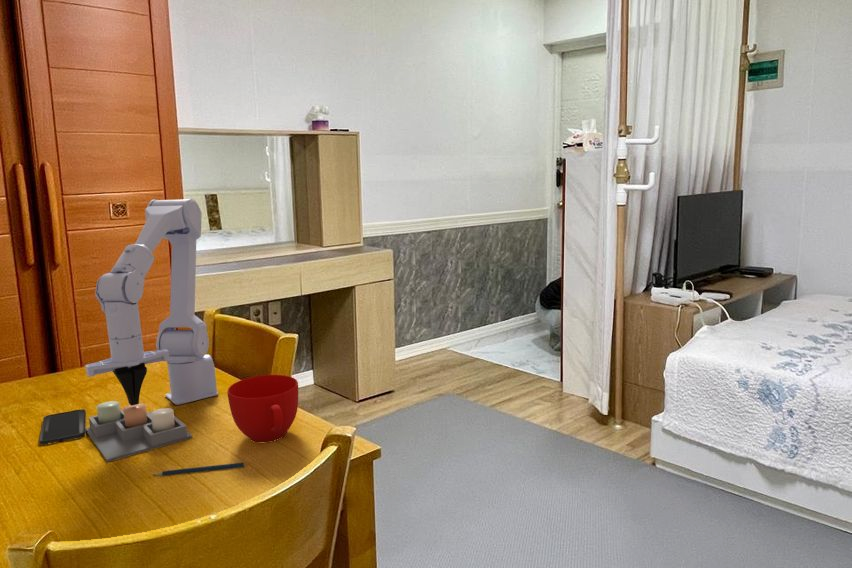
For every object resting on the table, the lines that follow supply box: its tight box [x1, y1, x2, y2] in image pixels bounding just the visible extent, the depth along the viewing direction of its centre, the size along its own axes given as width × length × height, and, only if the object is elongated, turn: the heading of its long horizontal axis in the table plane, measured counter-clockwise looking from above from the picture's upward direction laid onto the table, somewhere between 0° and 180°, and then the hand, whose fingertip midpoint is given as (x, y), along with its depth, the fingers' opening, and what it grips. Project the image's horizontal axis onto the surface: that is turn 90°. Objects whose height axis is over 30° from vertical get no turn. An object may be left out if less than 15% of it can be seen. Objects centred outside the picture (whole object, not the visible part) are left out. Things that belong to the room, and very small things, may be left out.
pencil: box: [153, 462, 245, 477], centre depth 112 cm, size 1×1×15 cm
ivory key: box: [151, 407, 175, 433], centre depth 125 cm, size 4×4×3 cm
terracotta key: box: [122, 402, 148, 427], centre depth 127 cm, size 4×4×3 cm
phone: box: [38, 408, 87, 445], centre depth 132 cm, size 8×1×15 cm
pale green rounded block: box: [96, 400, 121, 424], centre depth 130 cm, size 4×4×3 cm
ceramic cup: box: [226, 374, 299, 443], centre depth 122 cm, size 13×17×10 cm
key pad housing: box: [85, 408, 193, 463], centre depth 128 cm, size 15×18×3 cm
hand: (133, 403), depth 127 cm, fingers closed
